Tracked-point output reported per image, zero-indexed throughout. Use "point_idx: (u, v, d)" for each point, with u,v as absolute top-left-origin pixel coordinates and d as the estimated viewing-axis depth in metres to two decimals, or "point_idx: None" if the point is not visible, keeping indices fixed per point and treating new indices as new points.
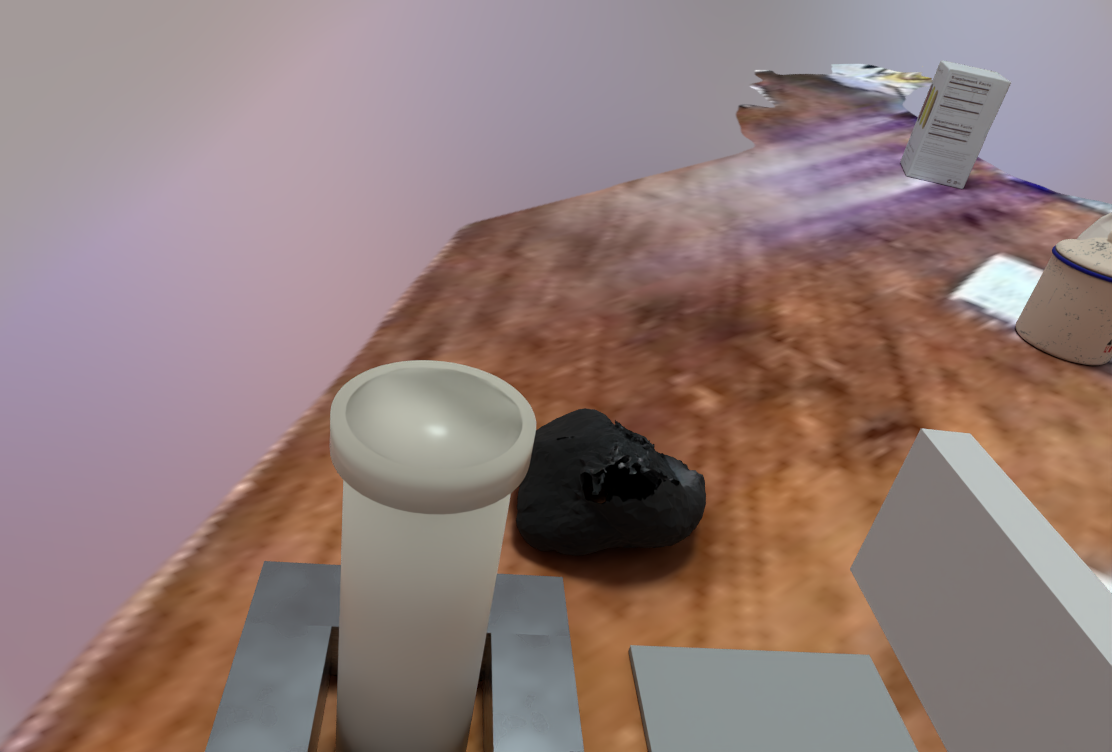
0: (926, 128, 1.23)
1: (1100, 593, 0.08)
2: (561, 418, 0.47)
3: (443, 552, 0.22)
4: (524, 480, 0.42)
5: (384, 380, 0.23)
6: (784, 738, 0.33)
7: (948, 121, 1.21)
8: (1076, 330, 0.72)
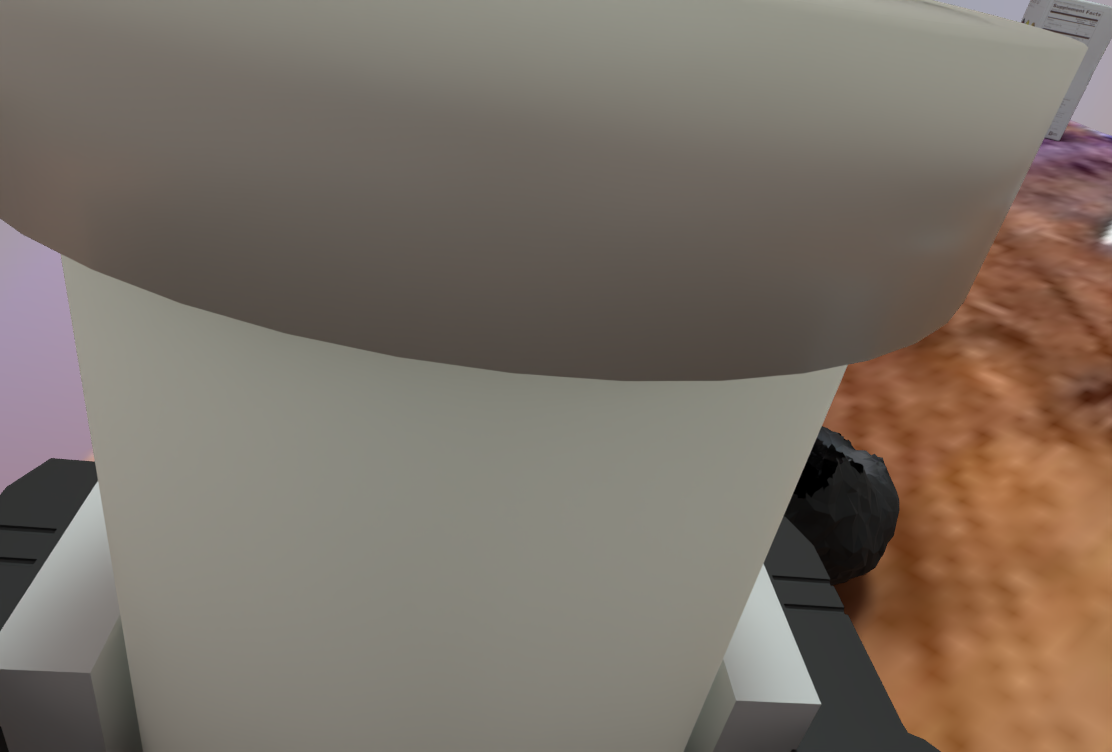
0: None
1: None
2: None
3: (569, 635, 0.04)
4: None
5: None
6: None
7: None
8: None
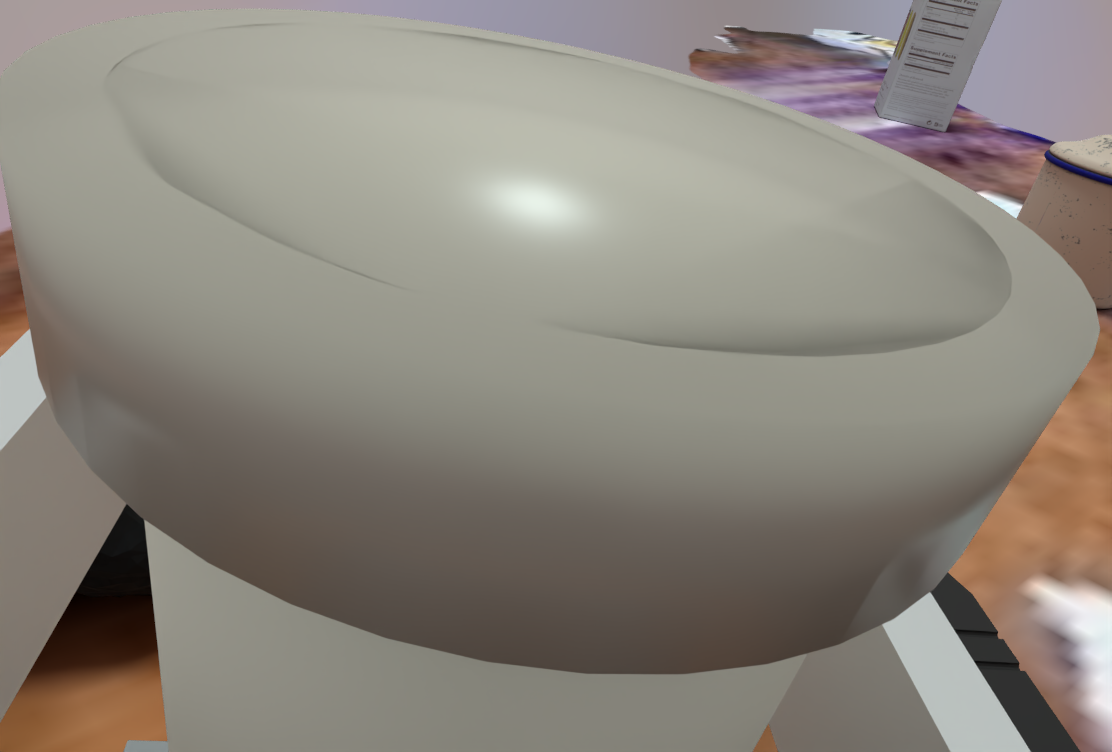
0: (902, 58, 1.04)
1: None
2: None
3: None
4: None
5: (344, 34, 0.06)
6: None
7: (927, 49, 1.02)
8: (1076, 258, 0.53)
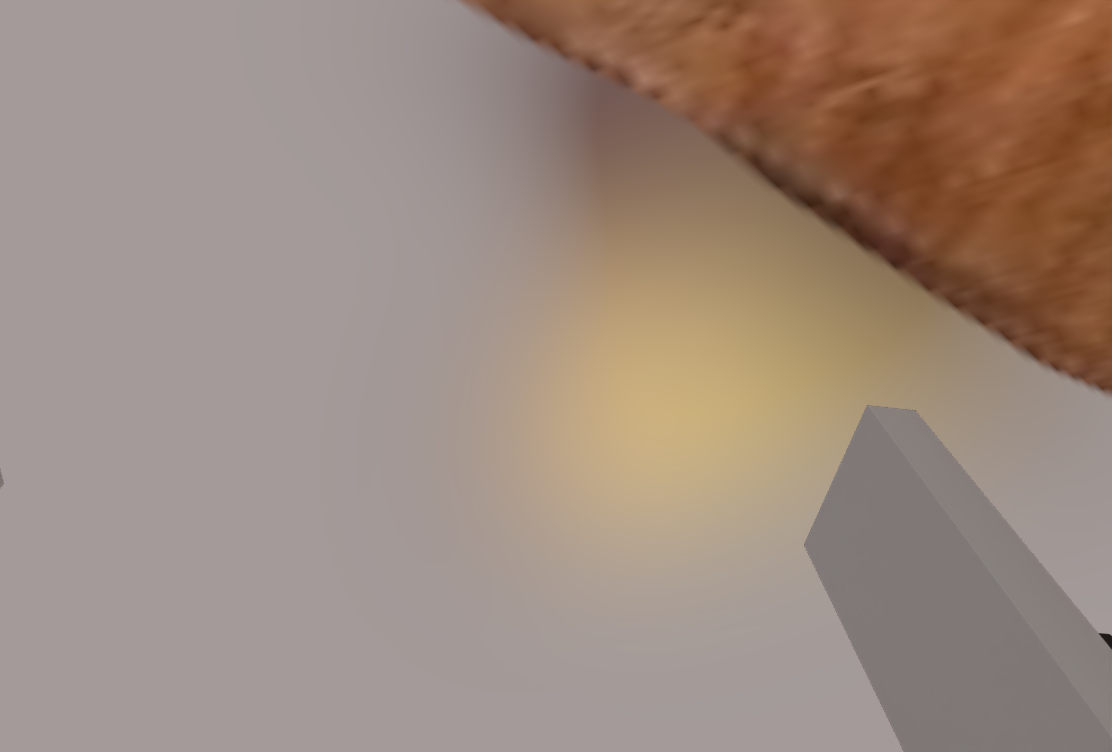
0: None
1: (1025, 558, 0.09)
2: None
3: None
4: None
5: None
6: None
7: None
8: None
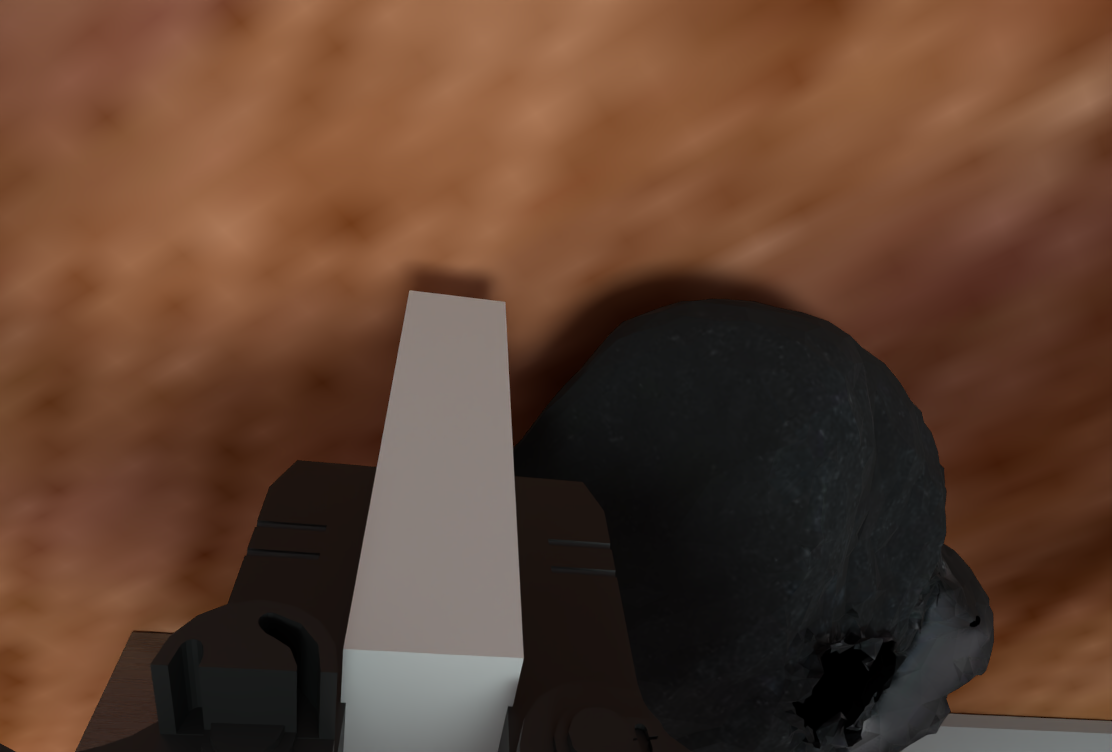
0: None
1: (496, 409, 0.09)
2: (704, 389, 0.11)
3: None
4: None
5: None
6: None
7: None
8: None
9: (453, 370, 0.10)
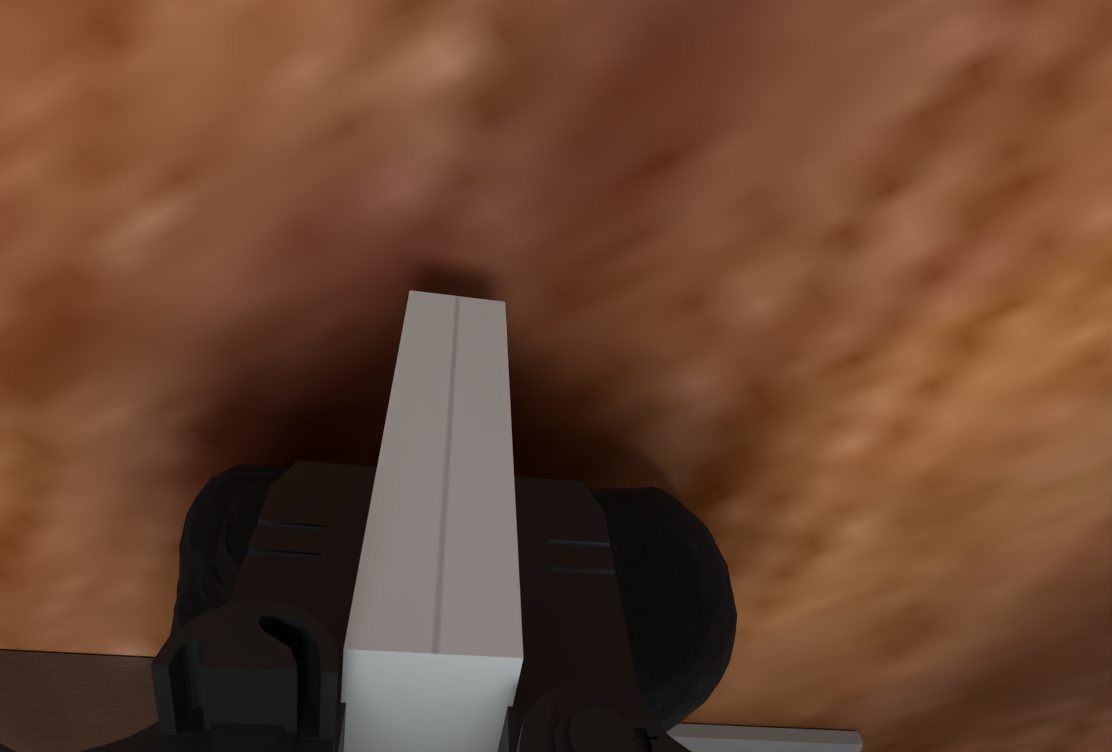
0: None
1: (496, 409, 0.09)
2: (679, 593, 0.13)
3: None
4: None
5: None
6: None
7: None
8: None
9: (453, 370, 0.10)
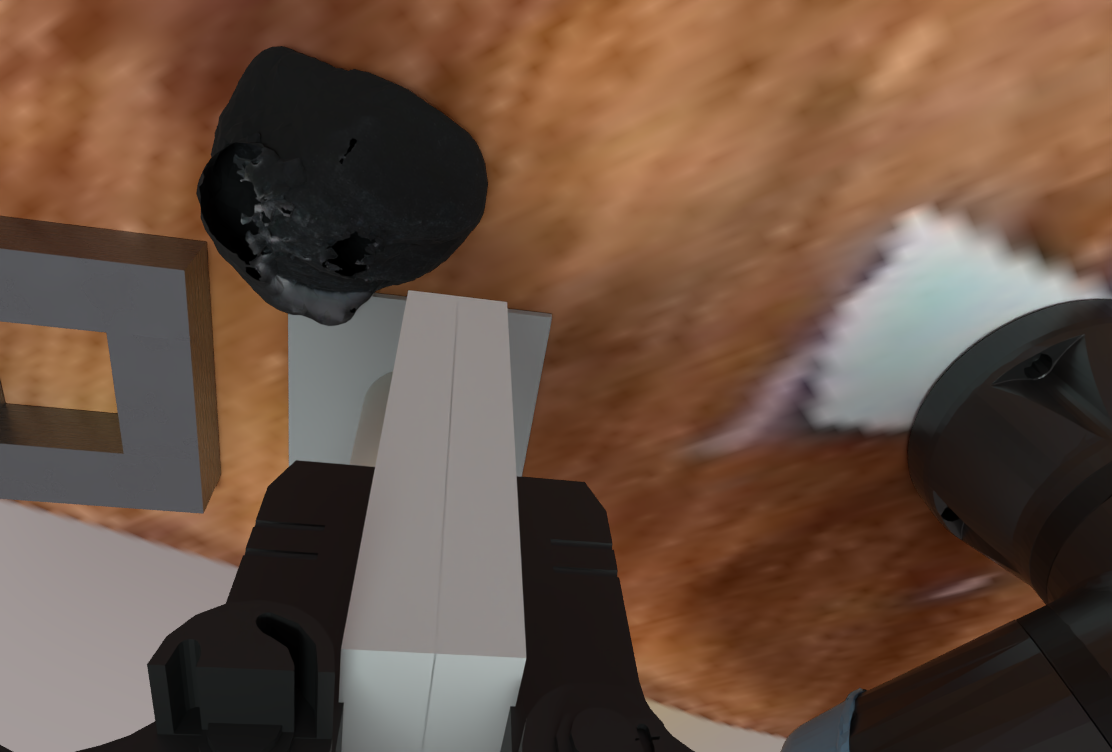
0: None
1: (499, 409, 0.09)
2: (464, 173, 0.30)
3: None
4: (331, 75, 0.29)
5: None
6: None
7: None
8: None
9: (451, 370, 0.10)
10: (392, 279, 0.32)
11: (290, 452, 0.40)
